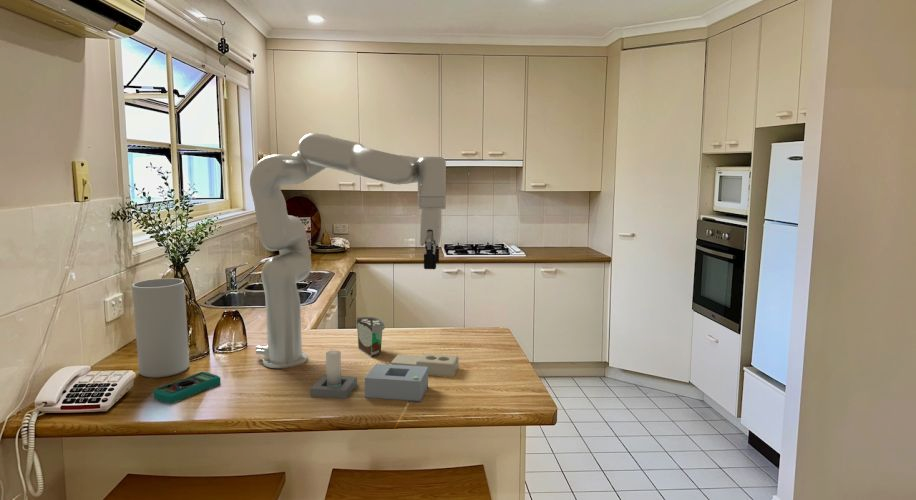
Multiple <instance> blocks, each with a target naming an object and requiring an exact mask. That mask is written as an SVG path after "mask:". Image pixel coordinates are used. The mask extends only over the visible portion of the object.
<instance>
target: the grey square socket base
mask: <svg viewBox="0 0 916 500" xmlns="http://www.w3.org/2000/svg"><path fill="white" fill-rule="evenodd" d="M357 386H358V378H357V376H346V375H345V376H343V375H341V387H329V386H327V374H324V375H322V376H321V377H320V378H319V379H318V380H317V381H316V382H315V383H314V384H313V385H312V386H311V387H310V389H309V390H310V392H309V393H310V395H309V396H310V397H312V398H322V399H324V398H325V399H326V398H327V399H338V400H339V399H340V400H346V399H347V398H348V397H349V396H350V394H351V393H352V392H353V390H354V389H355V388H356V387H357ZM310 397H309V398H310Z"/></svg>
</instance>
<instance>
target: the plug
mask: <svg viewBox="0 0 916 500" xmlns="http://www.w3.org/2000/svg"><path fill="white" fill-rule="evenodd" d="M341 355H342V352H341V351H340V350H336V349H335V350H329V351H327V352H325V358H326V359H325V361H326V362H325V363H326V364H325V365H326V367H325V368H326V375H327V386H329V387H341V376H342V363H341V362H342V356H341Z"/></svg>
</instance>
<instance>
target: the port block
mask: <svg viewBox="0 0 916 500" xmlns="http://www.w3.org/2000/svg"><path fill="white" fill-rule="evenodd" d="M428 388H429V375H428V367H423V366H406V365H391V364H385V363H375V364H374V366H373V367H372V368H371V369H370V371H369V372H368V373H367V374H366V375H365V377H364V398H366V399H379V400H394V401H405V402H406V401H407V402H408V403H416V404H417V403H419V404H420V403H421V402H422V401H423V399H424V397H425V394H426V392H427V390H428Z"/></svg>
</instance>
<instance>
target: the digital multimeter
mask: <svg viewBox="0 0 916 500" xmlns="http://www.w3.org/2000/svg"><path fill="white" fill-rule="evenodd" d="M219 385H221V376H219V375H217V374H214V373H210V372H206V371H200V372H198V373H195V374H192V375H190V376H187V377H185V378H181V379H180V380H176V381H174V382H173V381H172V382H171V383H168V384H166V385H162V386H159V387H156V388H155V389H154V390H153V391H152V392H153V398H154V399H155V400H156V401H159V402H161V403H167V404H174V403H177V402H179V401H181V400H184V399H186V398H189V397H191V396H194V395H197V394H199V393H201V392H204V391H206V390H209V389H212V388H215V387H216V386H219Z"/></svg>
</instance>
